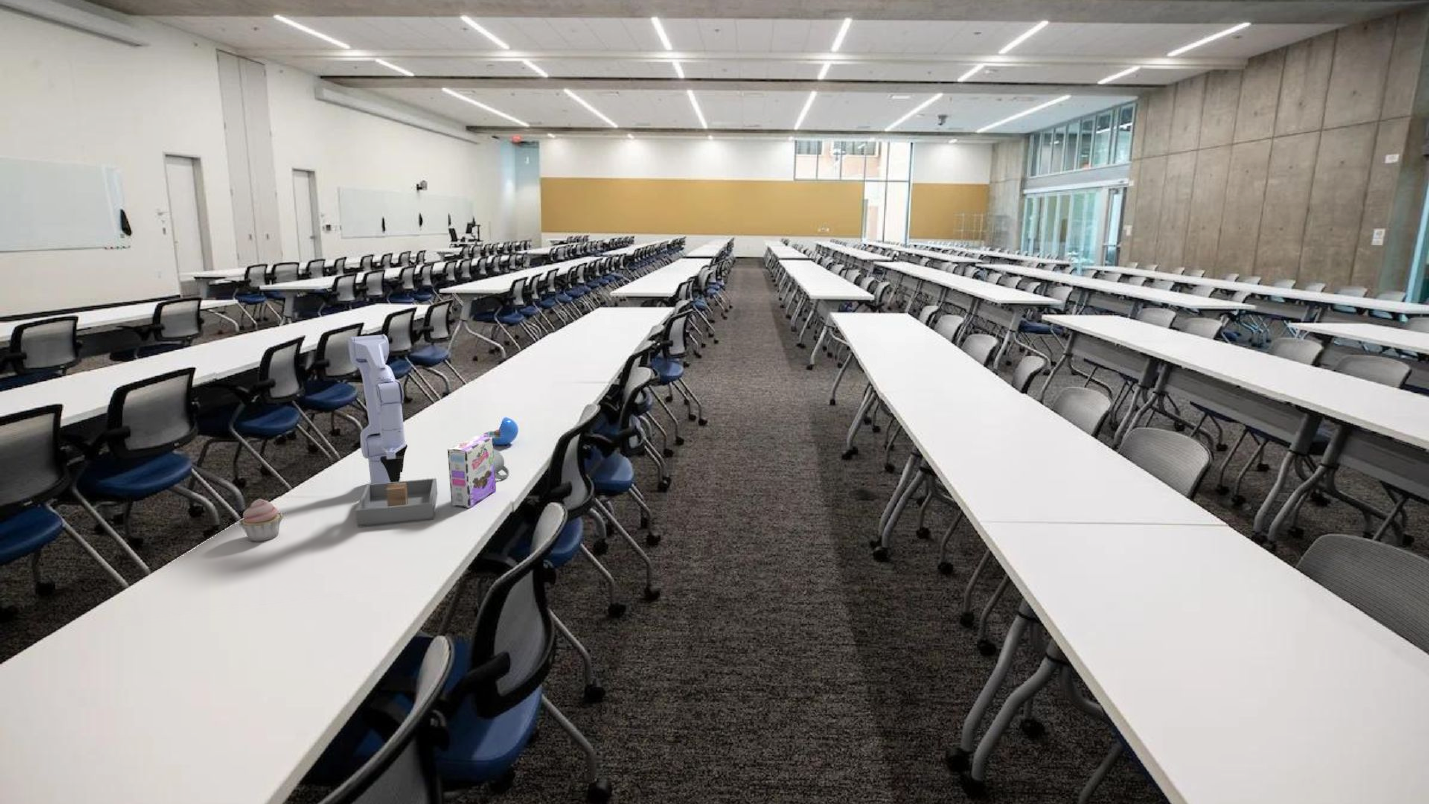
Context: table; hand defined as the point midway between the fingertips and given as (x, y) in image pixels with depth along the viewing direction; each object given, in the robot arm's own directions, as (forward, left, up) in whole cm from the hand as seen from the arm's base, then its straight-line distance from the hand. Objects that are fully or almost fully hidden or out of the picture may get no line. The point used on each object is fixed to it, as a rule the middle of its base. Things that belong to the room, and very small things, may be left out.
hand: (396, 476), depth 198 cm
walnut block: (0, 0, -9) cm, 9 cm away
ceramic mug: (-21, +24, -10) cm, 33 cm away
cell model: (-54, +28, -10) cm, 61 cm away
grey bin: (0, 0, -9) cm, 9 cm away
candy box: (-3, +19, -10) cm, 22 cm away
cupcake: (+10, -30, -10) cm, 33 cm away
